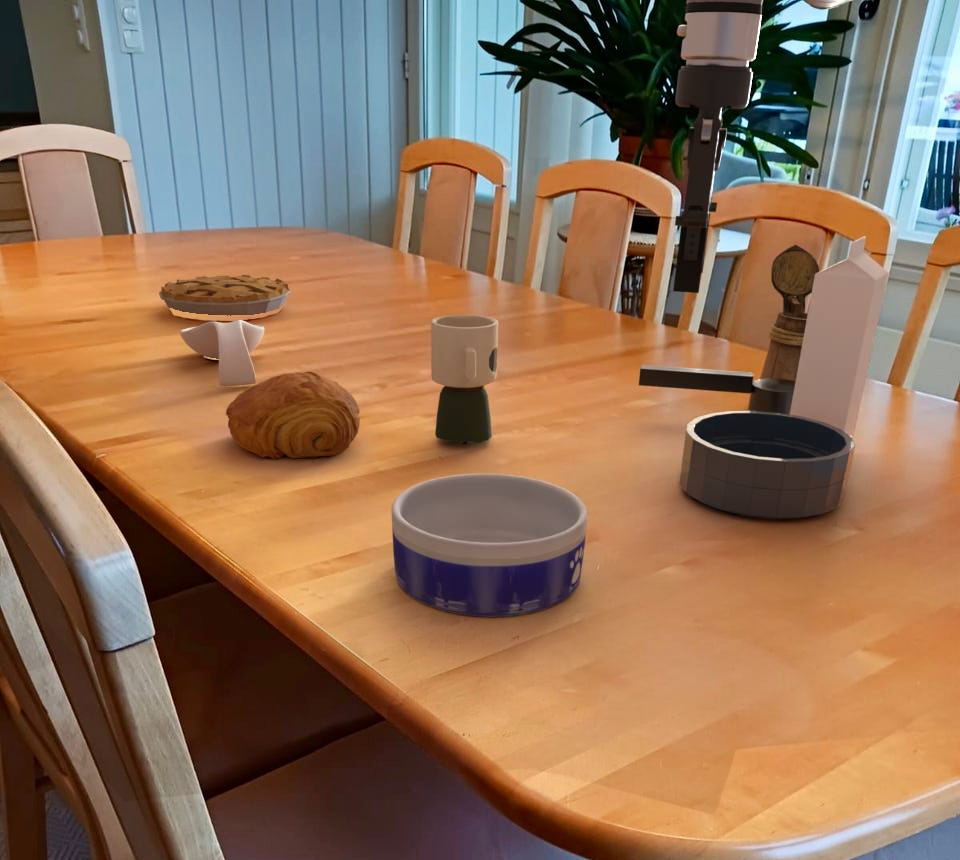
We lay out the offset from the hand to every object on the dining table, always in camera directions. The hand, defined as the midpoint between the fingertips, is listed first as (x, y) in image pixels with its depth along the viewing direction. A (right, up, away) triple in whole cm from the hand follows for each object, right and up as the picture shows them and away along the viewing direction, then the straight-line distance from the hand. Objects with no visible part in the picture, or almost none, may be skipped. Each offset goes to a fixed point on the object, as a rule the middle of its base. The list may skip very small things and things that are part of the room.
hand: (688, 281), depth 110 cm
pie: (-68, +16, +58) cm, 90 cm away
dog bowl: (-23, -36, -32) cm, 53 cm away
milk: (+13, -20, -3) cm, 25 cm away
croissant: (-44, -19, -3) cm, 48 cm away
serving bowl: (+4, -26, -14) cm, 30 cm away
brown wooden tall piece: (+15, -10, +15) cm, 24 cm away
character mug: (-26, -19, -2) cm, 32 cm away
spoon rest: (-59, -3, +25) cm, 64 cm away
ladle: (+5, -15, +6) cm, 16 cm away
